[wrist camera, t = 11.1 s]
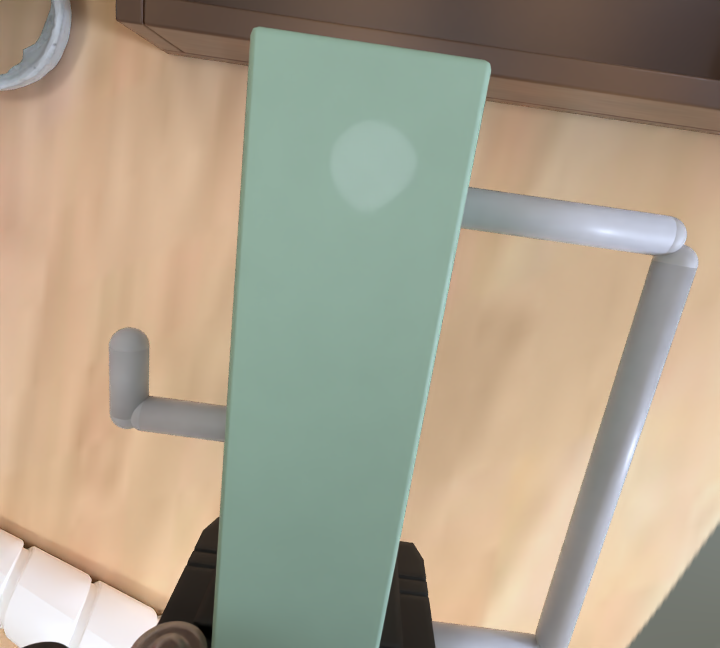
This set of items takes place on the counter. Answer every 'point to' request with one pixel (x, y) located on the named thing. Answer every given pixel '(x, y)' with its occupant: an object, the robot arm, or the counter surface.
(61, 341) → the counter surface
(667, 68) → the tray
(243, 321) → the hanger
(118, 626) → the unicorn horn
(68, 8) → the ceramic mug
